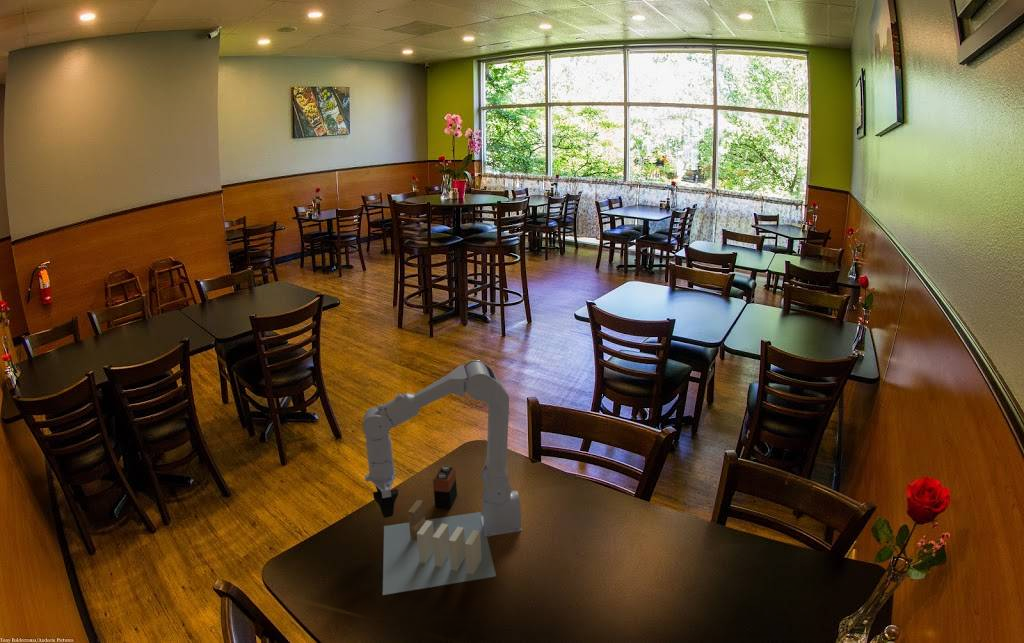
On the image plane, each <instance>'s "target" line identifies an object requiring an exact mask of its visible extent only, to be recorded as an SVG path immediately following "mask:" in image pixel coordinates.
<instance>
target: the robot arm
mask: <svg viewBox="0 0 1024 643" xmlns="http://www.w3.org/2000/svg"><path fill="white" fill-rule="evenodd" d="M465 393H466V394H467V395H468V396H469V397H470V398H472V399H474V400H476V401H480V402H483V403H485V404H487V406H488V409H487V410H488V411H487V412H488V413H487V416H488V417H487V441H486V442H487V443H486V444H487V445H486V448H487V449H486V458H485V460H484V461H485V462H484V465H483V468H482V470H481V472H480V477H481V480H482V483H483V486H484V488H483V490H482V493H481V498H482V501H481V502H482V516H481V517H480V518H481V523H482V527H483V531H484V535H485V536H487V537H491V536H492V537H493V536H498V535H504V534H505V535H506V534H511V533H517V532H521V531H522V530H523V528H522V508H521V500H520V495H519V491H518V490H512V487H511V485H510V483H509V473H508V464H507V461H508V460H507V458H508V457H507V456H508V441H509V440H508V436H509V435H508V434H509V416H510V415H509V414H510V412H509V411H510V396H509V394H508V391H507V390H506V388H505V387H504V385H503V384H502V383H501V381H500V379H499V378H498V377H497V375H496V373H495V372H494V371H493V369H492V368H491V366H489V365H488V364H486V363H485V362H483V361H482V360H478V359H472V360H469V361H468V362H466V363H465V364H461V365H459V366H457V367H456V368H455V369H453V370H452V371H451V372H449V373H447V374H446V375H445V376H443V377H441V378H439V379H438V380H435V381H434V382H432V383H431V384H429V385H428V386H426V387H425V388H423V389H421V390H419V391H417V392H416V393H412V392H411V393H410V392H404V393H403V394H402V393H400V392H399V393H398V394H396V395H395V398H394V399H391V400H390V401H388V402H386V403H384V404H381V403H380V404H378V405H377V407H376V406H373V407H370V408H368V410H366V411H365V413H364V415H363V421H362V422H363V424H362V431H363V433H364V434H363V435H364V436H365V439H366V440H365V447H366V455H367V463H368V472H369V473H368V474H365V475H364V480H365V482H371V483H372V484H373V485H374V486H375V488H376V491H374V492H372V496H373V500H375V502H376V503H377V505H379V508H380V511H381V514H382V516H383V518H389V517H393V516H394V512H395V504H396V503H395V502H396V500H397V497H399V490H398V488H395V489H392V486H393V483H394V480H395V478H396V475H397V474H396V473H397V472H396V469H395V464H394V456H393V447H392V438H391V435H390V430H391V429H393V428H395V427H397V426H399V425H401V424H403V423H405V422H407V421H409V420H410V419H412V418H415V417H417V416H418V415H419V412H420V409H422V407H425V406H427V405H429V404H431V403H433V402H435V401H437V400H440V399H442V398H445V397H446V396H448V395H451V394H453V395H457V396H459V397H462V398H466V394H465Z"/></svg>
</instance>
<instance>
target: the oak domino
mask: <svg viewBox="0 0 1024 643" xmlns="http://www.w3.org/2000/svg"><path fill="white" fill-rule="evenodd" d="M407 514H408V516H407V517H408V523H409V526H410V536H411V539H412V540H417V533H418V531H419V530H420V529H421V527H422V526H423V525H424V523H425V520H426V515H425V514H426V513H425V504H424V500H420V499H417V500H416V501H415V502H414V504H413V505H412V506H411V508H410V509H409V510H408V511H407Z"/></svg>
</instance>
